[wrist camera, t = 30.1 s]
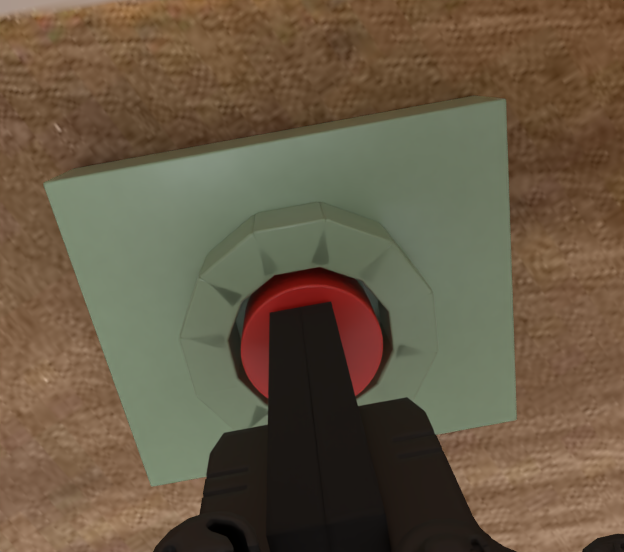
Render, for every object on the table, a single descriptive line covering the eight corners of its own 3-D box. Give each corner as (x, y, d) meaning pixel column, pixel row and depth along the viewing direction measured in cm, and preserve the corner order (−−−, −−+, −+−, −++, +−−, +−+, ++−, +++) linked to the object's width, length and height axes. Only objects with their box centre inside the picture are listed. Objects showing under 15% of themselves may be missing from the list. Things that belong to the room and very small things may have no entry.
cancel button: (362, 250, 14) (374, 272, 13) (379, 364, 16) (391, 398, 14) (231, 273, 14) (225, 299, 13) (258, 386, 16) (256, 423, 14)
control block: (476, 95, 15) (540, 101, 12) (491, 383, 19) (544, 458, 15) (72, 168, 15) (7, 197, 12) (164, 443, 19) (137, 532, 15)
